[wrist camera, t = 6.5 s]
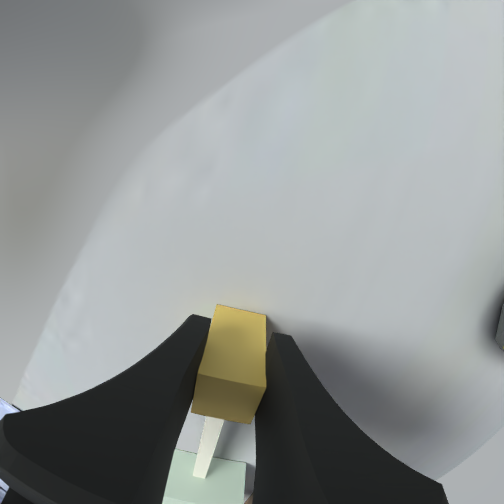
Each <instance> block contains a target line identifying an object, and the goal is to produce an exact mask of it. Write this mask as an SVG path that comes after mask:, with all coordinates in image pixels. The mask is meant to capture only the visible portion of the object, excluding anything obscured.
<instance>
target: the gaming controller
mask: <svg viewBox="0 0 504 504" xmlns="http://www.w3.org/2000/svg"><path fill="white" fill-rule="evenodd" d="M495 340H496V342H497V343H498V345H499V347H500V348H501V349H502V350H503V351H504V303H503V306H502V311H501V316H500V320H499V325H498V329H497V333H496V337H495Z"/></svg>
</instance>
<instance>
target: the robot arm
mask: <svg viewBox="0 0 504 504" xmlns="http://www.w3.org/2000/svg"><path fill="white" fill-rule="evenodd" d="M210 324H211V318H207V317H202V316H198V315H194V314H192V315H191V316H189V317H188V318H187V319H186V321H185V322H184V323H183V324H182V325H181V326H180V327H179V328H178V329H177V330H176V331H175V332H174V333H173V334H172V335H171V336H170V337H168V338H167V339H166V340H165V341H164V342H163V343H162V344H160V345H159V346H158V347H157V348H156V349H154V350H153V351H152V352H150V353H149V354H148V355H146V356H145V357H144V358H142V359H141V360H140V361H138V362H137V363H136V364H134V365H133V366H131V367H130V368H128V369H127V370H125V371H123V372H122V373H120V374H118V375H117V376H115V377H113V378H111V379H110V380H108V381H106V382H104V383H102V384H100V385H98V386H96V387H94V388H92V389H90V390H87V391H85V392H83V393H81V394H78V395H75V396H73V397H70V398H67V399H64V400H61V401H59V402H56V403H53V404H50V405H46V406H43V407H39V408H34V409H30V410H25V411H19V410H18V409H16V408H15V407H13V406H12V405H10V404H9V403H7V402H6V401H5V400H3V399H2V398H0V504H162V502H163V497H164V493H165V488H166V484H167V480H168V475H169V471H170V467H171V462H172V458H173V454H174V450H175V447H176V444H177V441H178V438H179V435H180V433H181V430H182V427H183V424H184V422H185V419H186V416H187V414H188V411H189V408H190V405H191V403H192V400H193V397H194V391H195V385H196V379H197V374H198V370H199V366H200V363H201V361H202V358H203V354H204V350H205V347H206V343H207V339H208V334H209V329H210ZM265 375H266V389H265V392H264V394H263V396H262V399H261V401H260V404H259V406H258V408H257V410H256V413H255V434H256V471H255V482H254V492H253V500H252V504H449V503H448V500H447V497H446V494H445V492H444V489H443V486H442V484H440V483H438V482H436V481H434V480H432V479H430V478H428V477H426V476H424V475H422V474H421V473H419V472H417V471H415V470H413V469H411V468H410V467H408V466H407V465H405V464H404V463H402V462H401V461H399V460H398V459H396V458H395V457H393V456H392V455H391V454H389V453H388V452H387V451H385V450H384V449H383V448H381V447H380V446H379V445H378V444H377V443H375V442H374V441H373V440H372V439H371V438H370V437H368V436H367V435H366V434H365V433H364V432H363V431H362V430H361V429H360V428H359V427H358V426H357V425H356V424H355V423H354V422H353V421H352V420H351V419H350V418H349V417H348V416H347V415H346V414H345V413H344V412H343V411H342V409H341V408H340V407H339V406H338V405H337V404H336V402H335V401H334V400H333V398H332V397H331V396H330V395H329V393H328V392H327V391H326V389H325V388H324V387H323V385H322V384H321V383H320V381H319V380H318V378H317V377H316V375H315V374H314V372H313V371H312V369H311V368H310V366H309V364H308V363H307V361H306V360H305V358H304V356H303V355H302V353H301V351H300V350H299V348H298V346H297V345H296V343H295V341H294V340H293V338H292V337H291V336H290V335H285V334H279V333H274V332H273V333H272V336H271V339H270V342H269V345H268V348H267V350H266V353H265Z"/></svg>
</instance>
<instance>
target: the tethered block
mask: <svg viewBox="0 0 504 504" xmlns="http://www.w3.org/2000/svg"><path fill="white" fill-rule="evenodd" d="M265 353H266V315H262V314H258V313H253V312H248V311H244V310H240V309H235V308H231V307H226V306H222V305H218V304H217V305H216V309H215V312H214V316H213V319H212V323H211V326H210V330H209V334H208V339H207V343H206V347H205V350H204V354H203V358H202V361H201V363H200V366H199V370H198V374H197V379H196V385H195V391H194V397H193V402H192V408H191V413H195V414H199V415H204V416H206V420H205V424H204V428H203V432H202V437H201V441H200V445H199V449H198V454H195V453H190V452H186V451H182V450H178V449H175V450H174V454H173V458H172V462H171V467H170V471H169V475H168V480H167V484H166V488H165V493H164V497H163V502H162V504H243V503H244V488H245V472H246V463H245V462H237V461H231V460H225V459H219V458H214V457H212V456H213V453H214V450H215V447H216V444H217V441H218V438H219V435H220V432H221V429H222V426H223V423H224V420H228V421H233V422H239V423H245V424H251V422H252V420H253V417H254V415H255V413H256V410H257V408H258V406H259V404H260V401H261V399H262V396H263V394H264V392H265V389H266V375H265Z"/></svg>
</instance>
